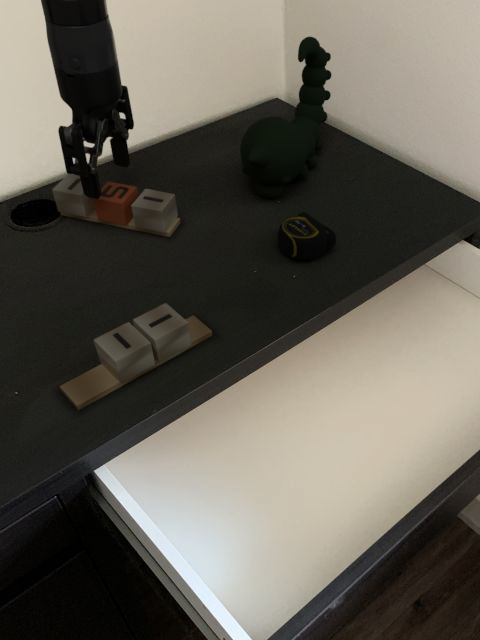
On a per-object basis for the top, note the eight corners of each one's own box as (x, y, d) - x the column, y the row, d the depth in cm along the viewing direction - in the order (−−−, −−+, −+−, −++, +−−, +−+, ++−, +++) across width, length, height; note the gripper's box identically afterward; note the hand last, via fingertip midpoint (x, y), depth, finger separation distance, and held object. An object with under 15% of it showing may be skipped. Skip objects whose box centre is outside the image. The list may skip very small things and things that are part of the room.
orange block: (97, 219, 93) (92, 197, 90) (112, 203, 96) (107, 180, 93) (126, 225, 92) (122, 202, 90) (140, 208, 95) (136, 186, 93)
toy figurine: (287, 146, 113) (220, 208, 96) (293, 22, 100) (216, 69, 83) (339, 158, 111) (279, 224, 94) (352, 33, 98) (285, 84, 81)
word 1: (59, 216, 95) (51, 189, 92) (75, 200, 98) (68, 172, 94) (169, 238, 92) (164, 211, 89) (181, 221, 95) (178, 193, 91)
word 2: (80, 412, 71) (70, 384, 68) (59, 389, 73) (48, 361, 70) (214, 337, 79) (211, 309, 76) (192, 318, 81) (188, 290, 78)
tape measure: (337, 252, 91) (339, 229, 88) (298, 271, 88) (299, 248, 85) (306, 229, 94) (307, 206, 91) (267, 246, 91) (267, 223, 88)
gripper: (85, 30, 84) (107, 151, 96) (23, 75, 74) (57, 202, 87) (139, 39, 83) (155, 160, 95) (84, 86, 73) (109, 213, 86)
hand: (108, 180), depth 91 cm, fingers open, 8 cm apart
